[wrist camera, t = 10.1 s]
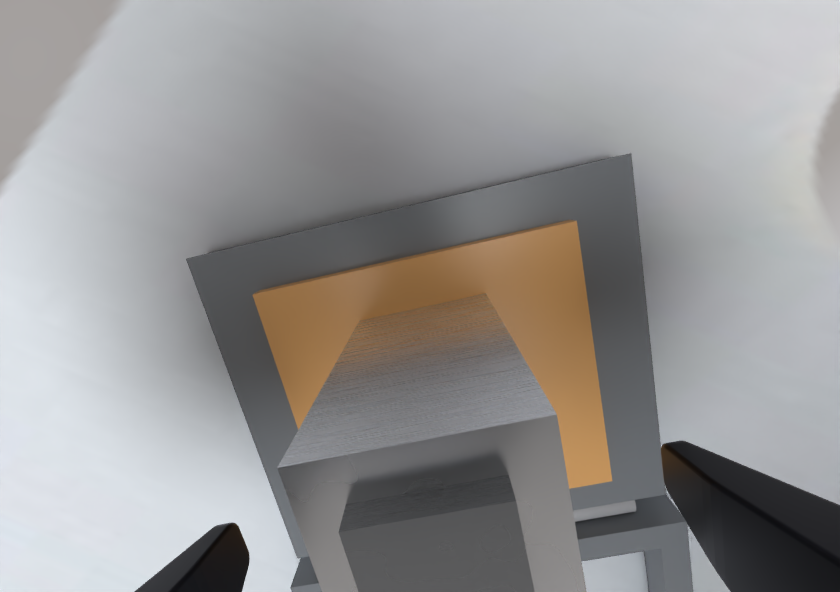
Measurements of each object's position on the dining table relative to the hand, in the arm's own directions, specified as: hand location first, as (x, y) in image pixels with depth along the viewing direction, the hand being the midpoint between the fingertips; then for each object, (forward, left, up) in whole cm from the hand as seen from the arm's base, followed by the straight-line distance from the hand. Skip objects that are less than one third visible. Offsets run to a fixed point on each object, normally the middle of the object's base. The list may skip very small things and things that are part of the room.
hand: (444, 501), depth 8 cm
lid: (0, 0, -7) cm, 7 cm away
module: (0, 0, -5) cm, 5 cm away
